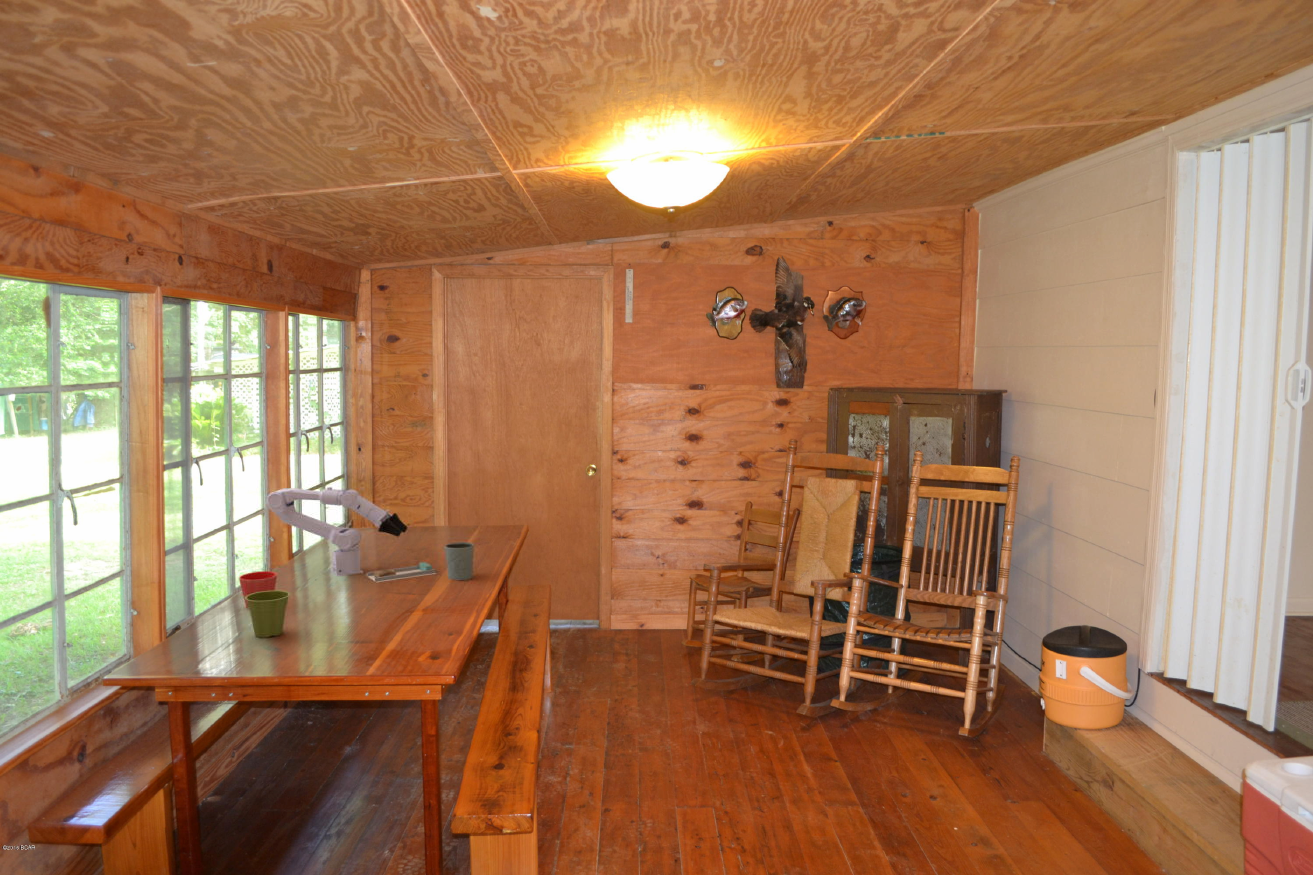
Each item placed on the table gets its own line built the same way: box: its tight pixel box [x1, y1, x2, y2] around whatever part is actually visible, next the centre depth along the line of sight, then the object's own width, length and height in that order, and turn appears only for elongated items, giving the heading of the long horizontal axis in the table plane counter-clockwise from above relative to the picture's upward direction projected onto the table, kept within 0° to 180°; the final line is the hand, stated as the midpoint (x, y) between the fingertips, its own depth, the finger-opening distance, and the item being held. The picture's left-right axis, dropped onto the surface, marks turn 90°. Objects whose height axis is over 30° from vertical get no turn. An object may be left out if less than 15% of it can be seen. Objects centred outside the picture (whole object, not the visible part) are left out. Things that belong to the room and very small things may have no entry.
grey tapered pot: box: [444, 541, 475, 582], centre depth 314 cm, size 10×10×12 cm
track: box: [365, 561, 437, 583], centre depth 317 cm, size 22×12×3 cm, turn 126°
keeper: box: [373, 568, 396, 578], centre depth 314 cm, size 6×5×2 cm
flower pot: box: [238, 570, 278, 609], centre depth 279 cm, size 11×11×10 cm
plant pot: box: [244, 589, 291, 638], centre depth 250 cm, size 12×12×11 cm
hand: (403, 532), depth 320 cm, fingers open, 7 cm apart
